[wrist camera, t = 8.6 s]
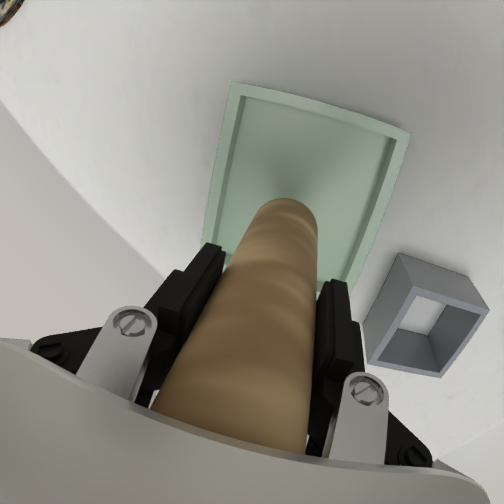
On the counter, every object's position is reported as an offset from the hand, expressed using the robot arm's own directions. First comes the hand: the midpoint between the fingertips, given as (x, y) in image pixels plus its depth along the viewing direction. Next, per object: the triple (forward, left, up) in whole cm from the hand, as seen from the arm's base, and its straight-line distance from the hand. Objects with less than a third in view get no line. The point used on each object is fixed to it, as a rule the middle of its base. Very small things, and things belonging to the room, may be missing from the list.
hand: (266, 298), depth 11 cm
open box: (-13, +6, -14) cm, 20 cm away
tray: (0, 0, -14) cm, 14 cm away
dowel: (0, 0, -7) cm, 7 cm away
